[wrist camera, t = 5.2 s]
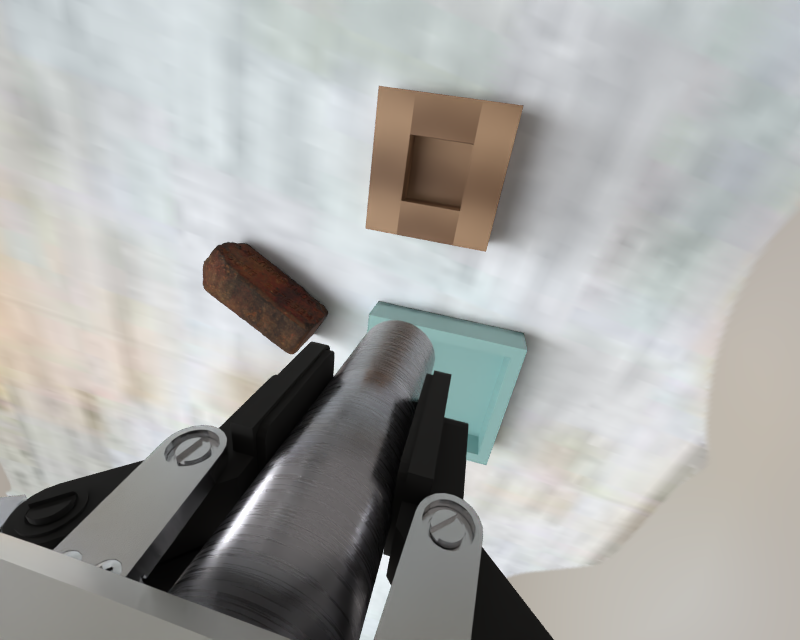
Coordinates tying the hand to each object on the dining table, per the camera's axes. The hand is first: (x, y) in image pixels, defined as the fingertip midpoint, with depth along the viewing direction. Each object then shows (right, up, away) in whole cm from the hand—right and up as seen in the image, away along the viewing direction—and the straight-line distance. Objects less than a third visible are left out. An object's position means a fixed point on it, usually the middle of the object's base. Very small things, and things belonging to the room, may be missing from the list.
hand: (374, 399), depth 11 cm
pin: (+1, +1, +3) cm, 3 cm away
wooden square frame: (+4, +14, +15) cm, 21 cm away
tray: (+4, -3, +23) cm, 24 cm away
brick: (-11, +6, +23) cm, 26 cm away
